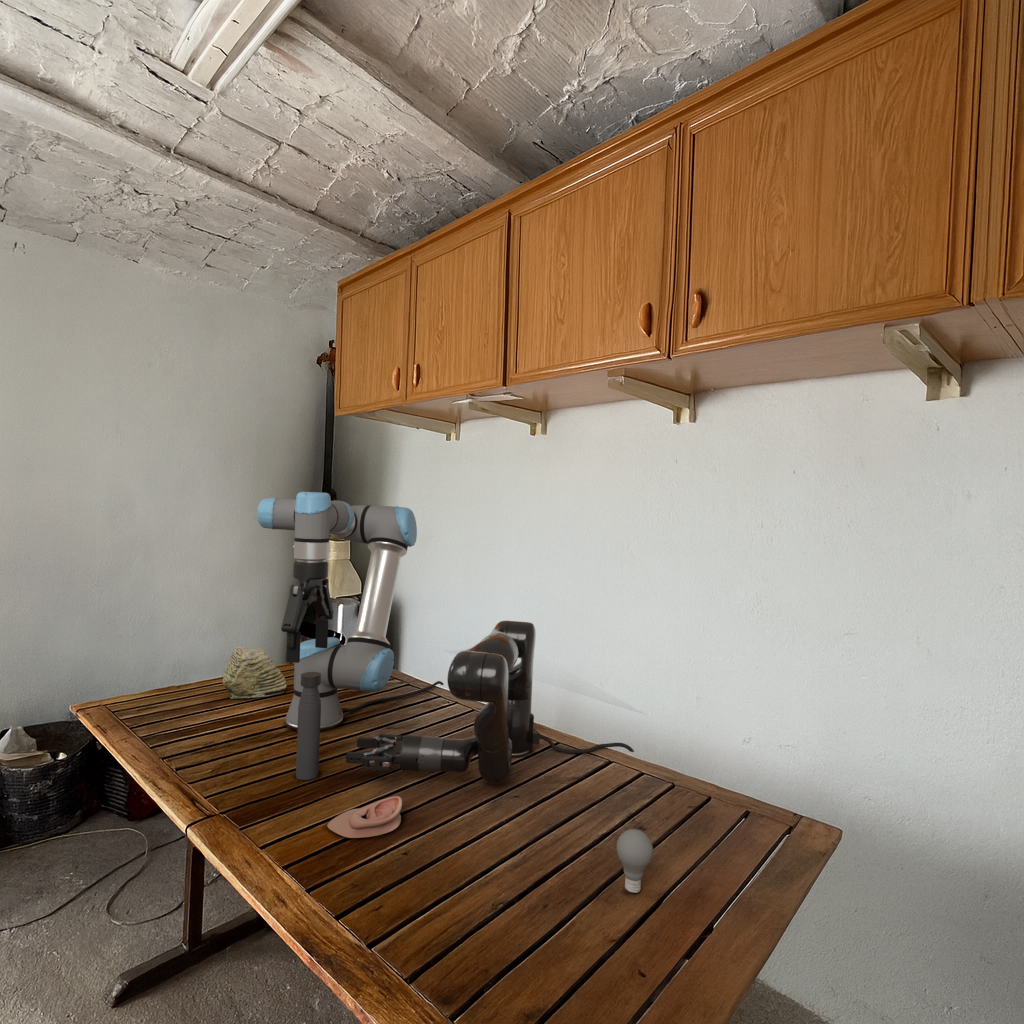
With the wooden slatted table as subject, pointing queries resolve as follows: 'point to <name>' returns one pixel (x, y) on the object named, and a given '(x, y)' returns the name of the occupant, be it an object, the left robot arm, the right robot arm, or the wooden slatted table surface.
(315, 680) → the cap
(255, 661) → the fossil
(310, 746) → the bottle
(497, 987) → the wooden slatted table surface
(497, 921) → the wooden slatted table surface
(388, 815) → the anatomical model
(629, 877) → the light bulb
